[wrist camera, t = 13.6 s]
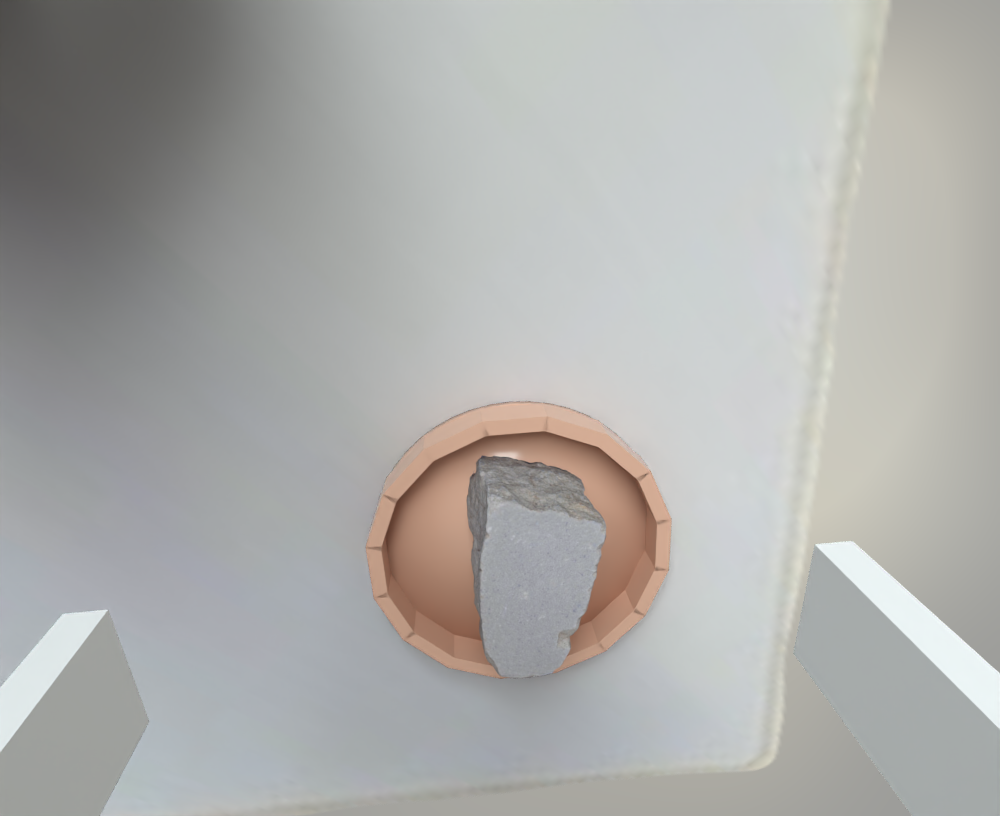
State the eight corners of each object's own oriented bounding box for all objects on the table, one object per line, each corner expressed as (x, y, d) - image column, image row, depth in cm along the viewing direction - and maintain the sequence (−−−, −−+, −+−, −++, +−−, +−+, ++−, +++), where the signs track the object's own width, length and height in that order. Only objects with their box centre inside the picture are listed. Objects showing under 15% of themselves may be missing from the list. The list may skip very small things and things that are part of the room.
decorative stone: (566, 422, 40) (427, 463, 40) (593, 466, 34) (427, 515, 34) (606, 589, 46) (483, 626, 46) (636, 655, 39) (493, 698, 39)
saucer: (392, 658, 47) (388, 690, 44) (354, 414, 39) (347, 432, 36) (650, 632, 48) (663, 661, 45) (660, 389, 41) (677, 405, 38)
